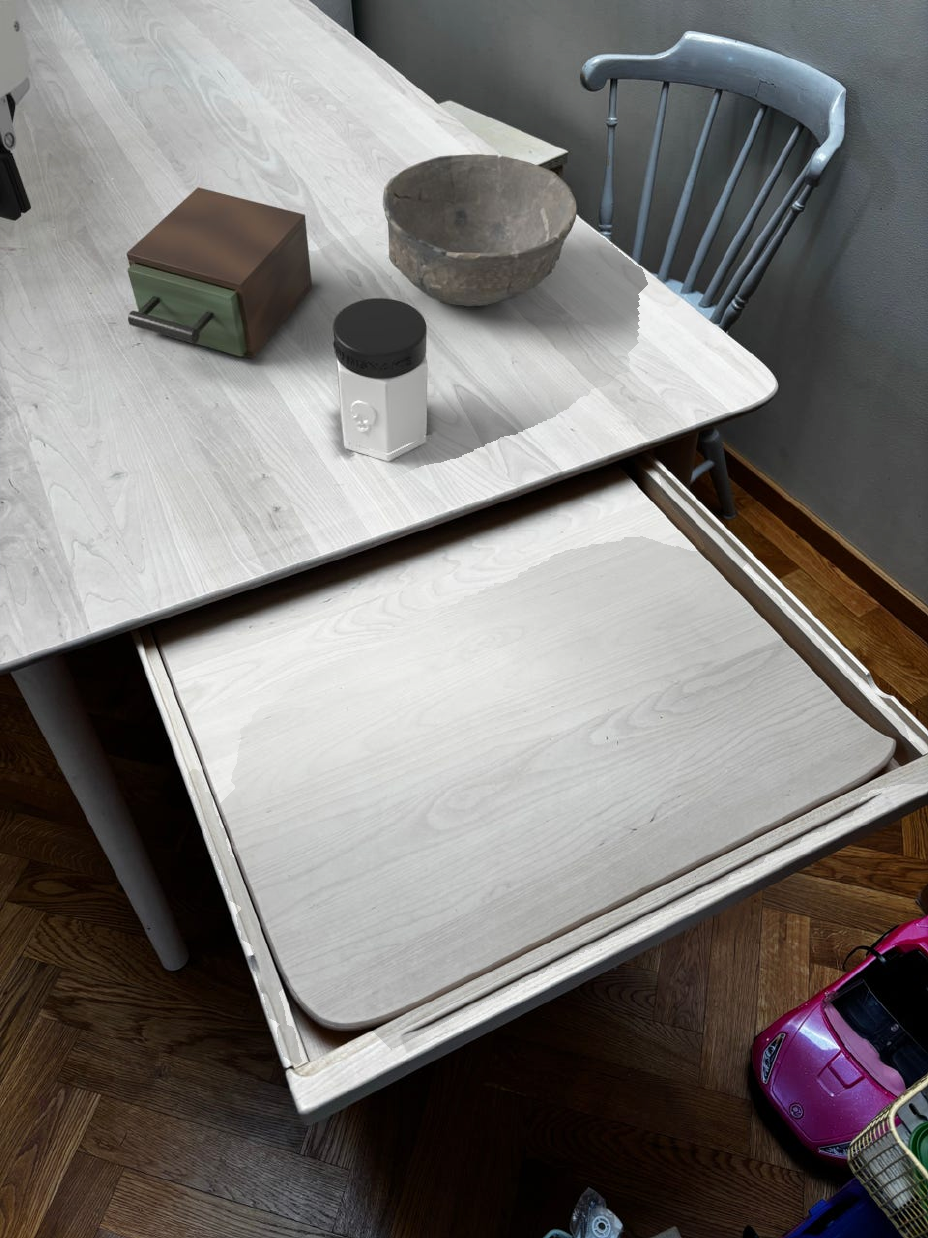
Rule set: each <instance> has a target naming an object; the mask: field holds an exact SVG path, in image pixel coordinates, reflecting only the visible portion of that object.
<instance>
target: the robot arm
mask: <svg viewBox="0 0 928 1238" xmlns="http://www.w3.org/2000/svg"><path fill="white" fill-rule="evenodd" d="M31 66H32V64H31V58H30V53H29V48H28V43H27V40H26V37H25V33H24V30H23V27H22V23H21V20H20V18H19V14H18V11H17V8H16V6H15V3H14V0H0V218H2V219H5V220H9V221H14V222H16V221H17V220H19V219H20V218H21V217H22V214H26V213H27V212H29V211H30V210H31V209H32V205H31V203H30V199H29V197H28V194H27V190H26V187H25V186H24V185H25V184H24V183H23V179H22V176H21V173H20V171H19V167H18V165H17V163H16V159H15V156H14V154H13V152H12V151H13V150H14V149H15V148H16V145H17V137H16V132H15V128H14V125H13V122H14V118H15V112H16V106H17V105H19V104H20V102H21V100H22V99H23V98H24V97H25V96H26V94H27V93H28V92H29V90H30V87H31V82H30V79H29V77H28V76H29V74H30V71H31V69H32V68H31Z"/></svg>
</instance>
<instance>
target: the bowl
mask: <svg viewBox="0 0 928 1238" xmlns="http://www.w3.org/2000/svg"><path fill="white" fill-rule="evenodd" d="M381 205H382V208H383V211H384V216H385V219H386V221H387V231H388V259H389V261H390V263H391V264H392V265H393V266H394V267H396V269H398V270H399V271H400V272H401V274H402V275H403V276H404V277H405V278H406V279H407V280H408V281H409V282H410V283H411V284H412V285H413V286H414V287H416V288H417V289H419V290H420V291H421V292H422V293H423V294H425V295H427V296H428V297H430V298H432V299H434V300H436V301H438V302H442V303H445V304H449V305H454V306H455V305H456V306H463V307H475V306H478V307H479V306H480V307H482V306H487V305H491V304H495V303H500V302H504V301H507V300H511V299H513V298H516V297H518V296H520V295H522V294H524V293H525V292H528V291H530V290H532V289H533V288H535V287H536V286H538V285H539V284H540V283H541V282H543V281H544V280H545V279H546V278H547V277H548V276H550V274H552V273H553V271H554V269H555V268H556V264H557V262H558V260H559V259H560V257H561V254H562V253H561V252H562V247H563V246H564V243H565V240H566V239H567V237H568V236H569V234H570V233H571V232H572V230H573V228H574V227H573V226H574V225H575V222H576V219H577V208H578V207H577V202H576V197H575V195H574V194H573V190H572V188H571V187H570V186H569V185H568V184H567V183H566V182H565V181H564V180H563V179H562V178H560V177H559V175H558V174H557V173H555V172H554V171H552V170H550V169H548V168H545V167H543V166H540V165H539V164H536V163H532V162H530V161H525V160H521V159H518V158H512V157H508V156H504V155H501V156H498V155H497V154H481V153H475V154H472V153H471V154H448V155H440V156H439V155H438V156H437V157H431V158H430V159H427V160H423V161H421V162H418V163H415V164H413V165H410V166H408V167H407V168H405V169H403V170H402V171H400V172H399V173H398V174H396V175H394V176H393V177H392V178H390V179H389V180H388V181H387V183H386V184H385V186H384V188H383V194H382V204H381Z"/></svg>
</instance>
